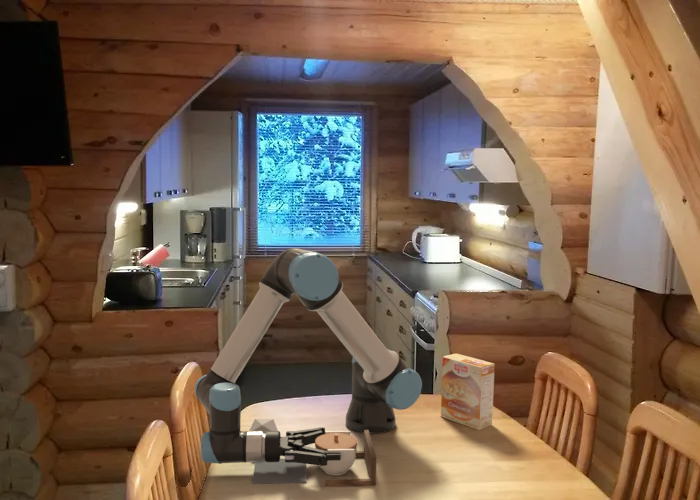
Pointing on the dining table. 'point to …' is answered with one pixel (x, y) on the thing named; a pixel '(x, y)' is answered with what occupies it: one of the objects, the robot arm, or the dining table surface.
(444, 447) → the dining table surface
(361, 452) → the shelf lane
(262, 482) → the pad
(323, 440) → the lidded jar
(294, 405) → the dining table surface
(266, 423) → the die
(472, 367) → the coffeecake box
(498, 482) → the dining table surface
